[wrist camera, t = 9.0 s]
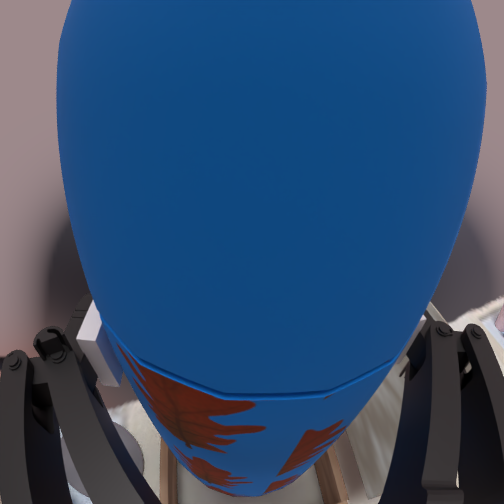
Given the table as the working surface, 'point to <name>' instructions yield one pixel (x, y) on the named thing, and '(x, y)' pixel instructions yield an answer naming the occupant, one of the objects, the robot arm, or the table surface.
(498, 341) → the table surface
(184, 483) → the table surface
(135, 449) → the disc
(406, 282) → the thermos
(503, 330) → the smoothie
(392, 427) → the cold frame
